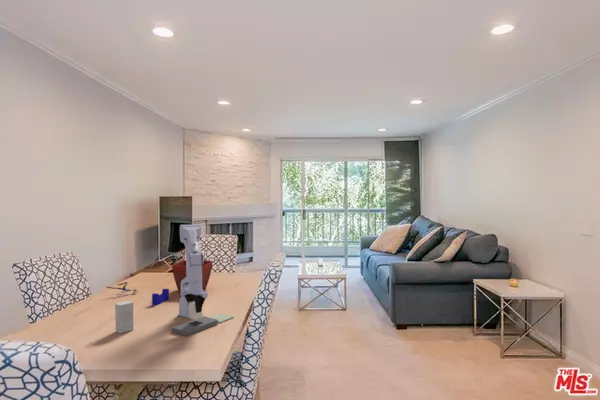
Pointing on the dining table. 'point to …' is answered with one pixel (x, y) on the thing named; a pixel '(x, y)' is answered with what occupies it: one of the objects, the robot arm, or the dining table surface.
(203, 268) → the plant pot
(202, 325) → the gray square hole board
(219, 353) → the dining table surface
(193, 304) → the plug
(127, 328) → the skincare box
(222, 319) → the mat
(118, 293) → the figurine
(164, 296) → the cable clip
